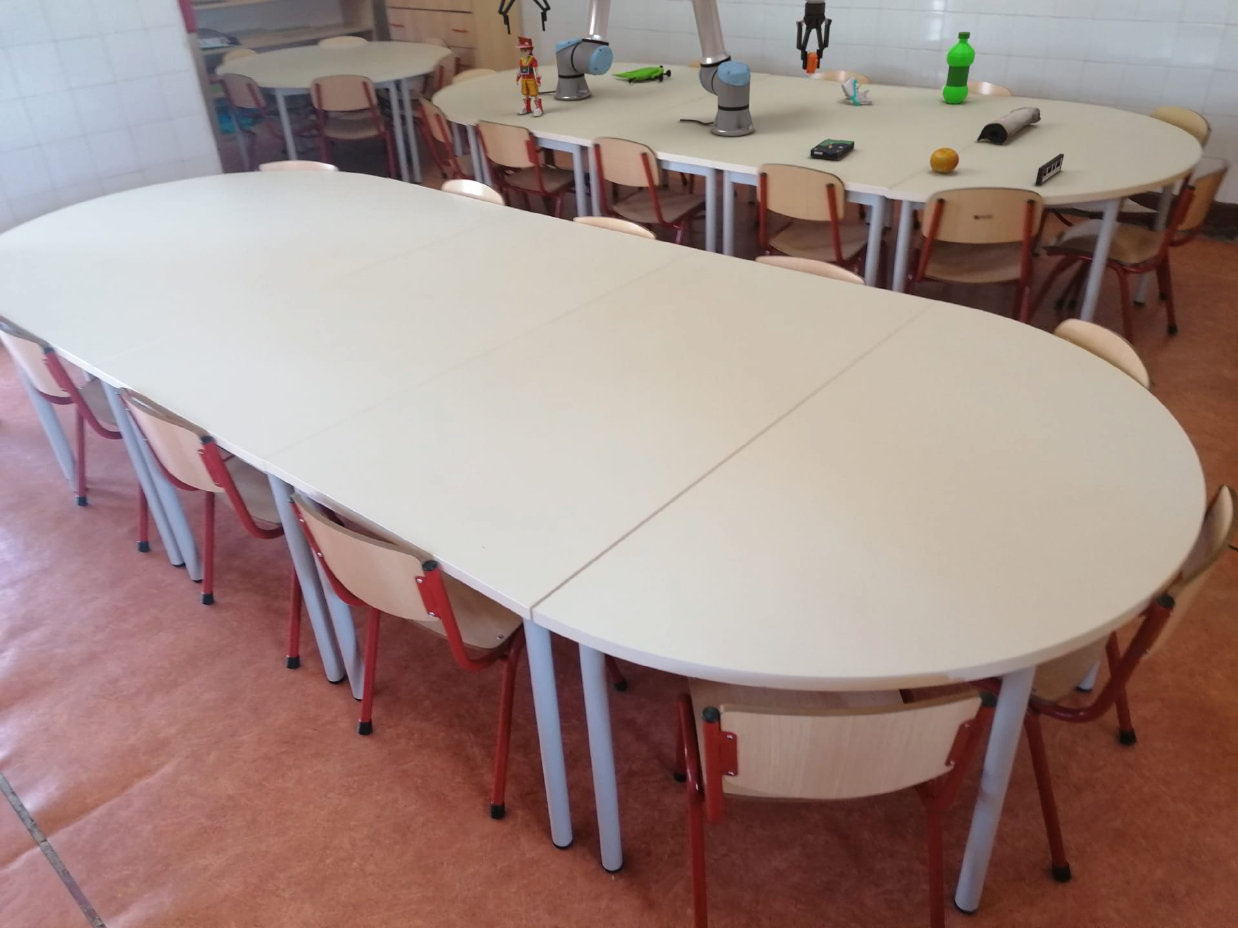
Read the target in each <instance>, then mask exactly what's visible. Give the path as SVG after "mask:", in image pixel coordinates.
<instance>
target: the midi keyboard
mask: <svg viewBox="0 0 1238 928" xmlns="http://www.w3.org/2000/svg"><path fill="white" fill-rule="evenodd" d="M1064 157H1065V153H1059V154H1058V155H1056V156H1055V157H1052V159H1051V160H1049V161H1047V162H1045V164H1042V165H1041V166H1039V167H1038V169H1037V175H1036V179H1035V186H1040V185H1042V183H1044V182H1045V181H1047V180H1048V179H1049V178H1051V177H1052V176H1054V175H1055V174H1056V173H1058V172H1060V171H1061V170H1062V165H1063V161H1064Z"/></svg>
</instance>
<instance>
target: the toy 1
mask: <svg viewBox="0 0 1238 928" xmlns="http://www.w3.org/2000/svg"><path fill="white" fill-rule="evenodd" d="M516 37H517V39H518V41H515V44H517V45H516V46H514V48H516V49H519V51H520V55H521V56H522V57H520V58H519V59H520V60H519V63H518V66H519V69H518V72H516V79H515V81H516V82H515V83H516V85H517V86H519V81H520V79H521V81H520V83H521V84H520V85H521V91H520V92H521V95H523V96H524V97H525V98H523V99H522V101H523V103H524V105H525V106H524V107H521V108H519V111H518V114H519V115H524V114H528V113H530V112H532V105H531V103H532V99H533V98H534V101H533V103H534V105H535V106H536V109H535V110H533V115H532V116H533V117H539V116H541V115H542V114H543V113H544V109H543V104H542V103H543V101H542V98H539V95H540V94H539V92H540V89H539V88H540V87H542V83H541V79H542V77H543V76H542V75H541V74H540V73H539V68H538V67H539V63H538V60H537V59H536V57H534V54H533V51H534V48H535V46H533V40H532V38H531V37H530V38H527V37H524V36H518V35H517V36H516ZM532 97H533V98H532Z"/></svg>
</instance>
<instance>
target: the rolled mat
mask: <svg viewBox="0 0 1238 928" xmlns="http://www.w3.org/2000/svg"><path fill="white" fill-rule="evenodd" d="M1041 120H1042V117H1041V110H1040V108H1039V107H1033V106H1026V107H1021V108H1015V109H1013V110H1011V111H1010V113H1008V114H1006V115H1004V116H1001V117H999V118H997V119H995V120H993V121H991V122H989V123H988V124H986V125H984V126H983V128H982V129H981V131H980V133H979V135H978V137H977V139H976V142H980V141H981V140H986V141H987V140H988V142H990V143H992V144H996V145H1003V144H1005V143H1006V142H1007V141H1008V140H1010V139H1011V138H1012V137H1013V136H1014V135H1015V134H1016V133H1017V132H1018V131H1021V129H1023V128H1024V127H1025V126H1026V125H1032V124H1033V125H1034V124H1037V123H1039V122H1041Z"/></svg>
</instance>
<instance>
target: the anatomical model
mask: <svg viewBox="0 0 1238 928" xmlns="http://www.w3.org/2000/svg"><path fill="white" fill-rule="evenodd" d="M857 83H858V80H857V78H855V77H854V76H849V79H848V80H846V81H843V82H841V89H842V92H843V94H844V96H845V97H846V98H850V100H851V101H852V103H853V104H854V105H855V106H861V104H862V105H863V104H871V103H873V102H874V100H873V99H868V97H867V95H868V94H869V92H870V90H869V89H865V90H864V91H862V92H860V91H859V89H860V87H861V86H862V83H860V84H858V85H856V84H857Z"/></svg>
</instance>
